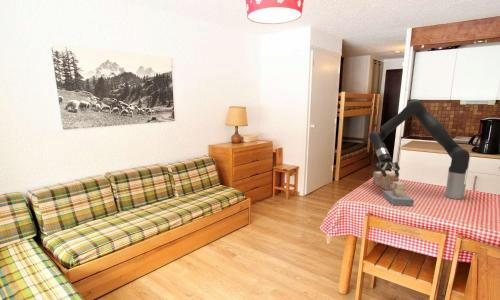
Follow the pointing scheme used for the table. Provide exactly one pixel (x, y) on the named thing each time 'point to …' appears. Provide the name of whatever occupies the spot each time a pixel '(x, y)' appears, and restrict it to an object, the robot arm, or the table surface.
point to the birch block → (398, 189)
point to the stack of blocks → (385, 179)
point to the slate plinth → (398, 199)
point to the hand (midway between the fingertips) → (391, 176)
